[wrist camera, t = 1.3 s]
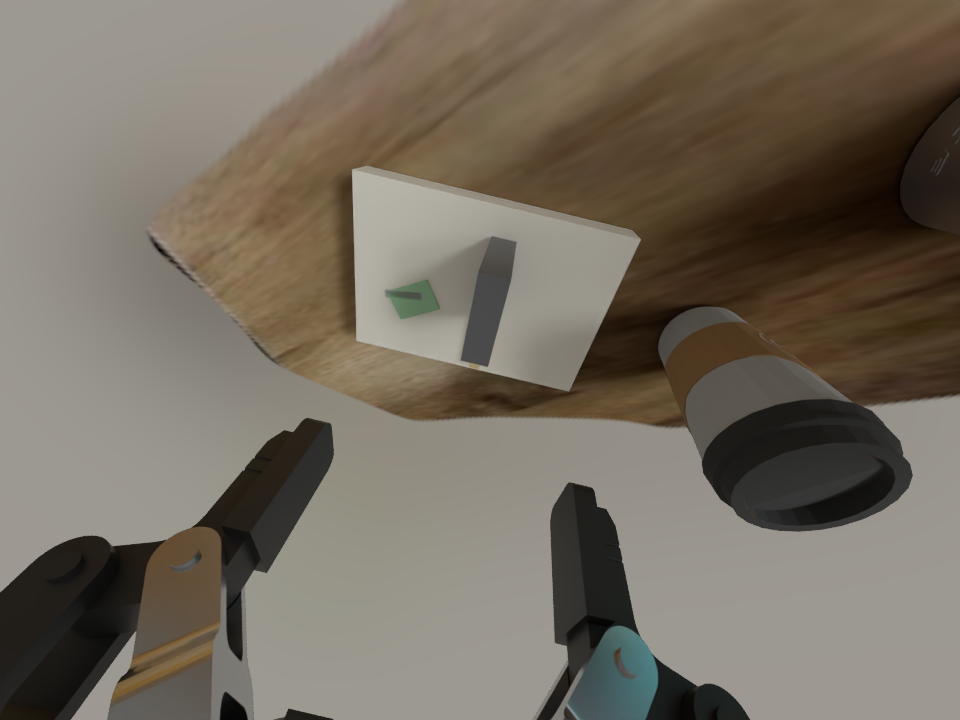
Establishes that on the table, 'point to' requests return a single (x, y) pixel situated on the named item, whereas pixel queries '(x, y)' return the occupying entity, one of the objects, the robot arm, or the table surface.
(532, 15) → the table surface
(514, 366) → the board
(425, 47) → the table surface
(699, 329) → the coffee cup
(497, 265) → the dark gray beam
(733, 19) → the table surface
